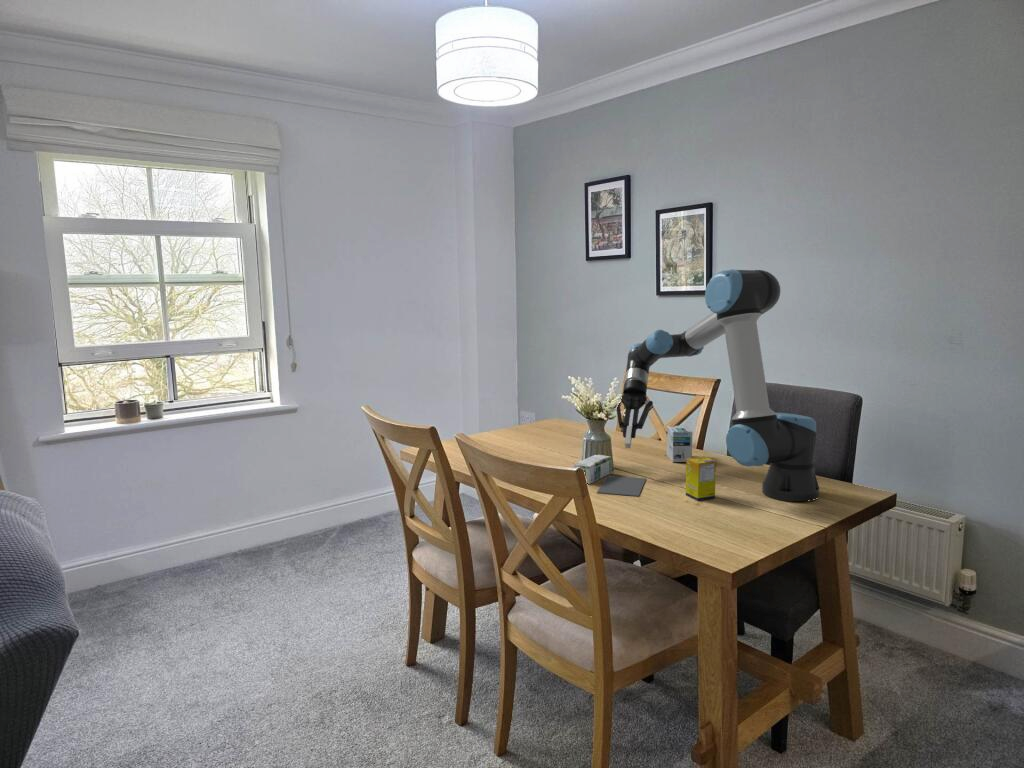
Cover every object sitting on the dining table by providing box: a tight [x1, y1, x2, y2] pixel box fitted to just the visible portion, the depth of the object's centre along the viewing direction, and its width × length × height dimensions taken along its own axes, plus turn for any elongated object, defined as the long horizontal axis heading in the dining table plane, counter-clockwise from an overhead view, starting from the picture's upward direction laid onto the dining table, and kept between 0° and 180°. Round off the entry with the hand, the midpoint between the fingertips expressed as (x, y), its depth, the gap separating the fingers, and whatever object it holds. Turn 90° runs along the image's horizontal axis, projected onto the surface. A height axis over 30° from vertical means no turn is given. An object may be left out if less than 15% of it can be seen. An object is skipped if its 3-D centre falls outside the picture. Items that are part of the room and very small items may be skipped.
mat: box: [596, 475, 647, 498], centre depth 203 cm, size 18×12×1 cm, turn 162°
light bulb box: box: [666, 425, 693, 463], centre depth 233 cm, size 11×7×11 cm, turn 179°
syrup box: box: [573, 454, 613, 485], centre depth 212 cm, size 6×6×14 cm
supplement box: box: [685, 456, 717, 502], centre depth 192 cm, size 6×6×11 cm
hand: (627, 445), depth 211 cm, fingers closed
